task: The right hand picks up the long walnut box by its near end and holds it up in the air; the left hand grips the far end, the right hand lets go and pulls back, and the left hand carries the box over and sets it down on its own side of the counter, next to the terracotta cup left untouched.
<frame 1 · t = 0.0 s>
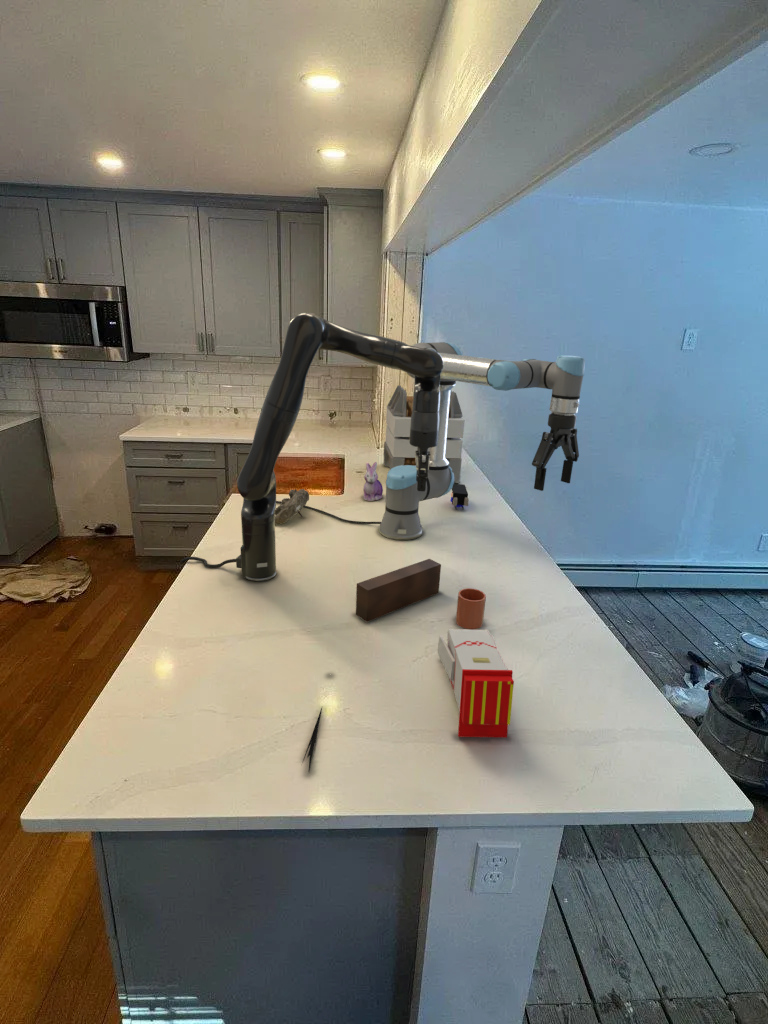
left hand: (420, 486, 155), 29 cm above the counter, fingers open, 8 cm apart
right hand: (552, 485, 166), 28 cm above the counter, fingers open, 13 cm apart
figurine character: (458, 506, 231), on the counter
fossil: (292, 516, 212), on the counter
figurine: (372, 498, 236), on the counter
feather: (319, 719, 109), on the counter
transformer: (419, 473, 275), on the counter
toy: (469, 691, 119), on the counter
terracotta cup: (469, 622, 145), on the counter
walnut box: (398, 603, 153), on the counter
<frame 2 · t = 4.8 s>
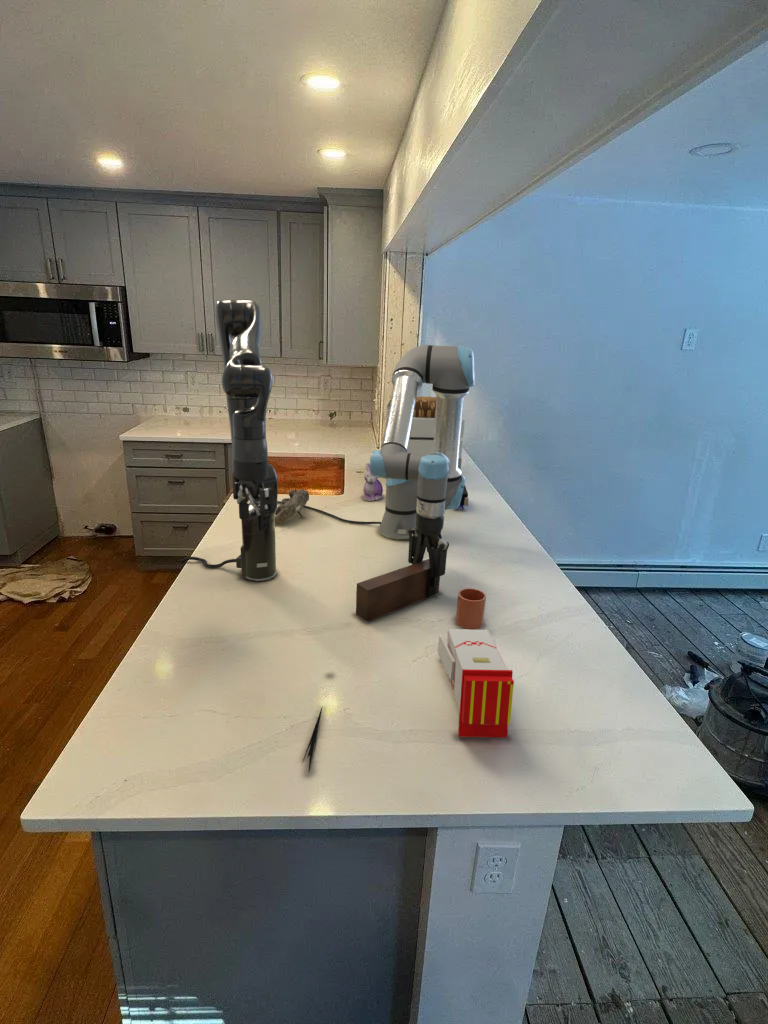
left hand: (253, 524, 132), 26 cm above the counter, fingers open, 8 cm apart
right hand: (424, 592, 159), 1 cm above the counter, fingers closed on walnut box, 5 cm apart
walnut box: (398, 603, 153), on the counter, touching right hand
everything else where it was.
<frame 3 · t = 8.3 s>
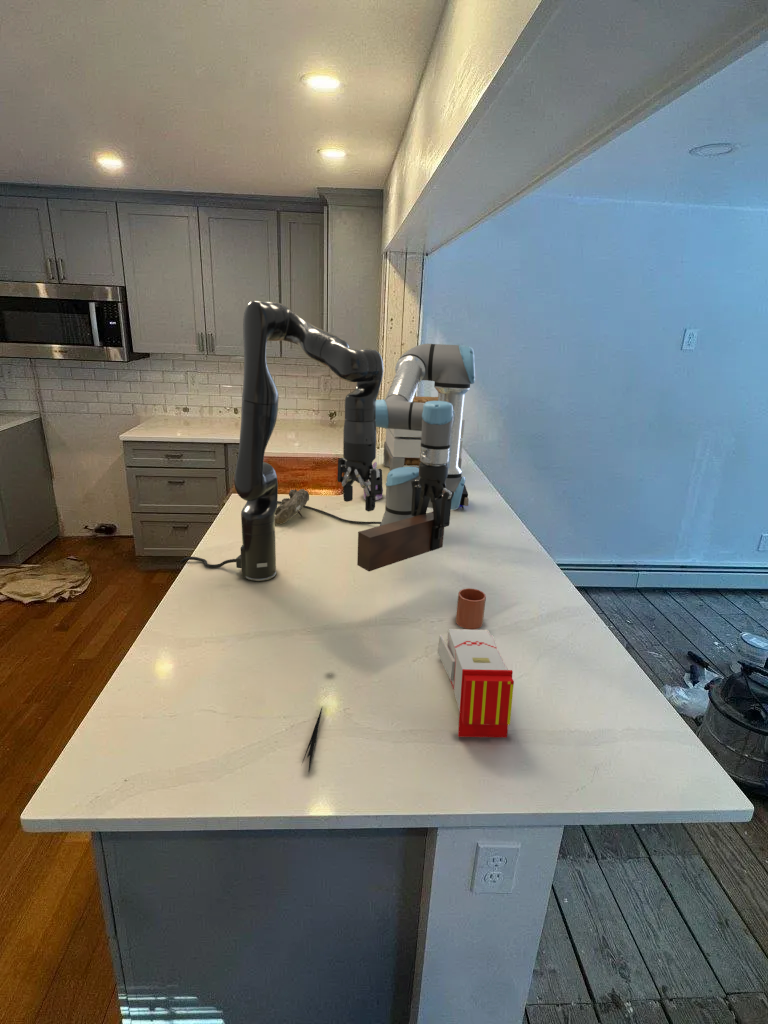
left hand: (358, 505, 136), 30 cm above the counter, fingers open, 8 cm apart
right hand: (427, 545, 154), 15 cm above the counter, fingers closed on walnut box, 5 cm apart
walnut box: (401, 555, 148), point 14 cm above the counter, touching right hand
everything else where it was.
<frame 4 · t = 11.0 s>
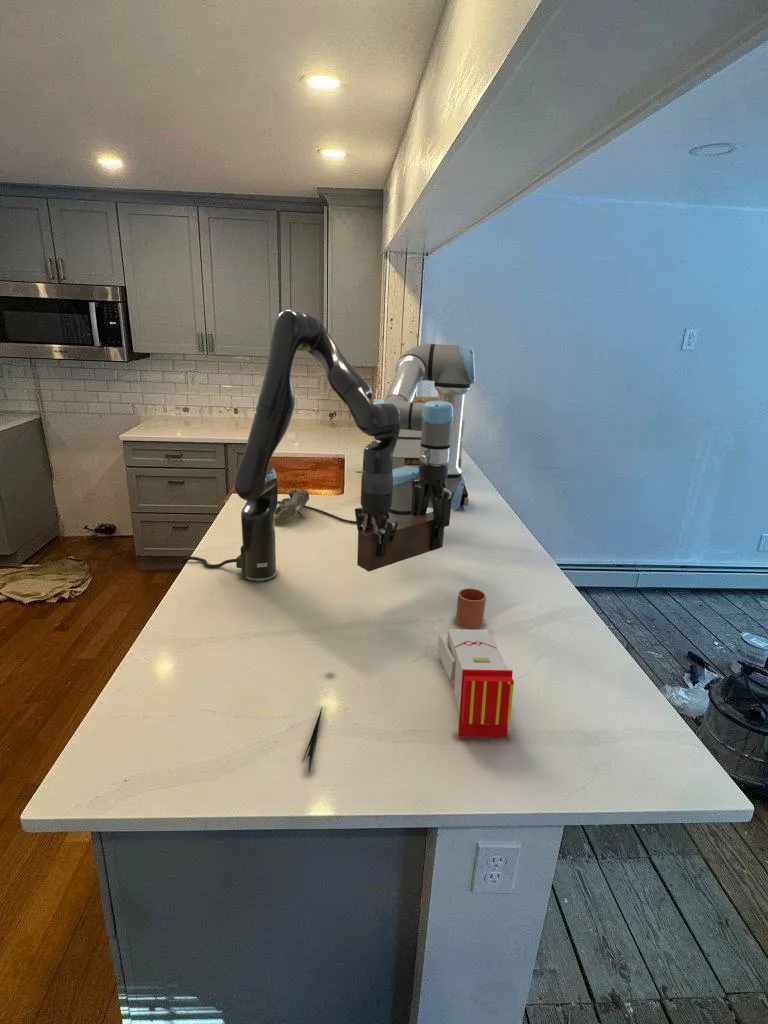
left hand: (374, 553, 141), 17 cm above the counter, fingers closed on walnut box, 4 cm apart
right hand: (427, 545, 154), 15 cm above the counter, fingers closed on walnut box, 5 cm apart
walnut box: (401, 555, 148), point 14 cm above the counter, touching right hand, left hand
everything else where it was.
when the right hand's fingers open (15 cm above the counter, at t = 11.8 s): walnut box stays where it is, held by the left hand.
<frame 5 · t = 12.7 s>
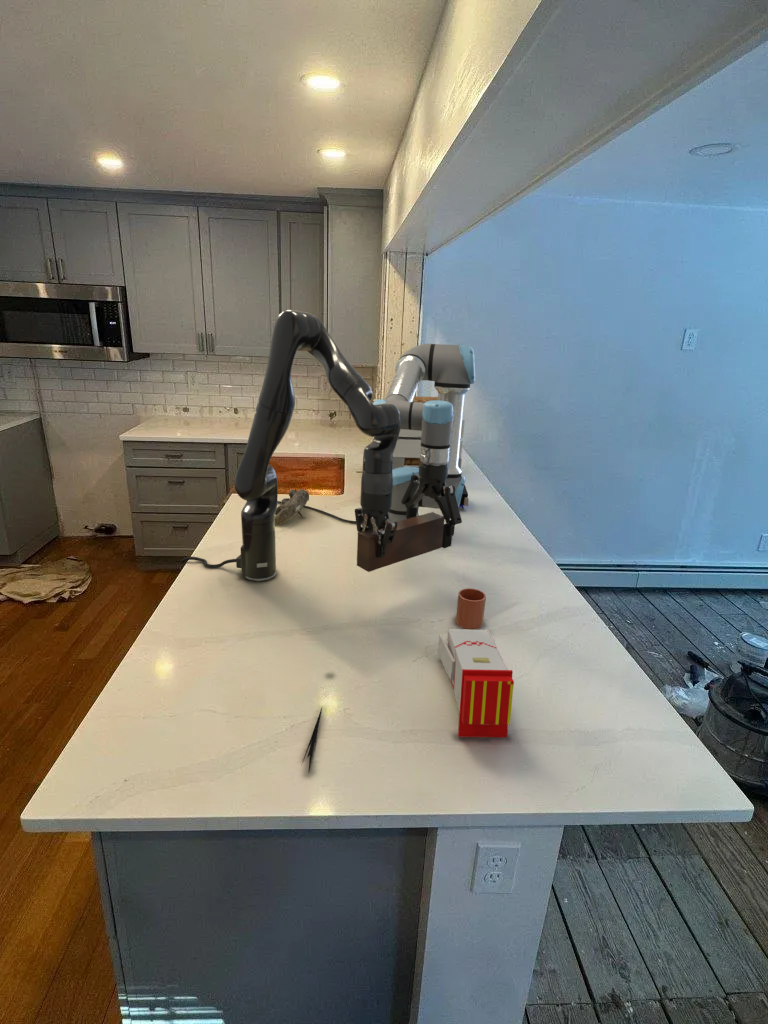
left hand: (373, 553, 141), 17 cm above the counter, fingers closed on walnut box, 4 cm apart
right hand: (428, 538, 153), 17 cm above the counter, fingers open, 13 cm apart
walnut box: (401, 556, 148), point 14 cm above the counter, touching left hand
everything else where it was.
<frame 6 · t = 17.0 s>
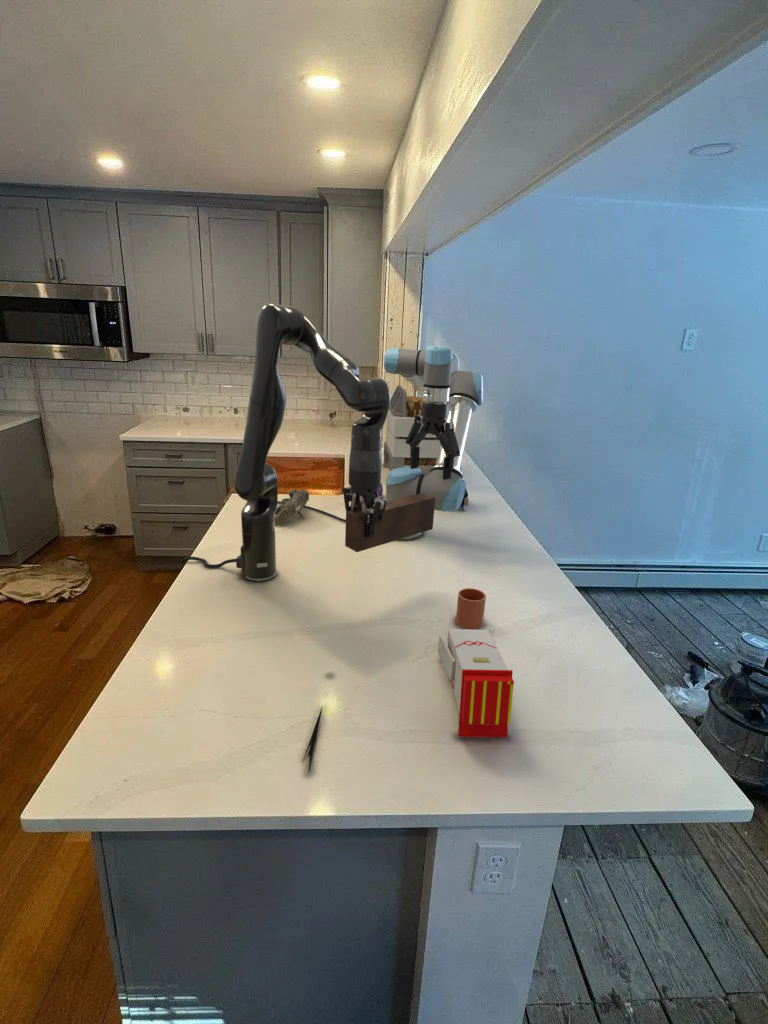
left hand: (362, 533, 138), 23 cm above the counter, fingers closed on walnut box, 4 cm apart
right hand: (430, 473, 170), 29 cm above the counter, fingers open, 13 cm apart
walnut box: (390, 537, 145), point 20 cm above the counter, touching left hand
everything else where it was.
when the left hand's fingers open (5 cm above the counter, at t = 23.3 s): walnut box drops 1 cm, on the counter.
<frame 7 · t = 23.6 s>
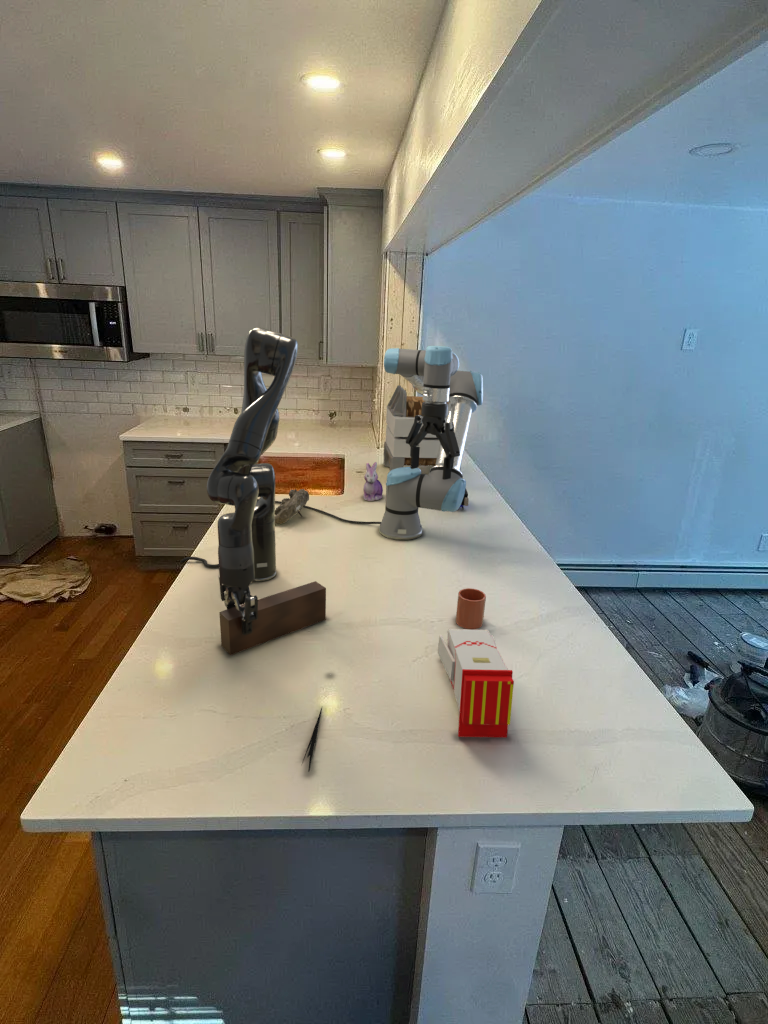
left hand: (239, 626, 129), 5 cm above the counter, fingers open, 6 cm apart
right hand: (430, 473, 170), 29 cm above the counter, fingers open, 13 cm apart
walnut box: (276, 632, 137), on the counter
everything else where it was.
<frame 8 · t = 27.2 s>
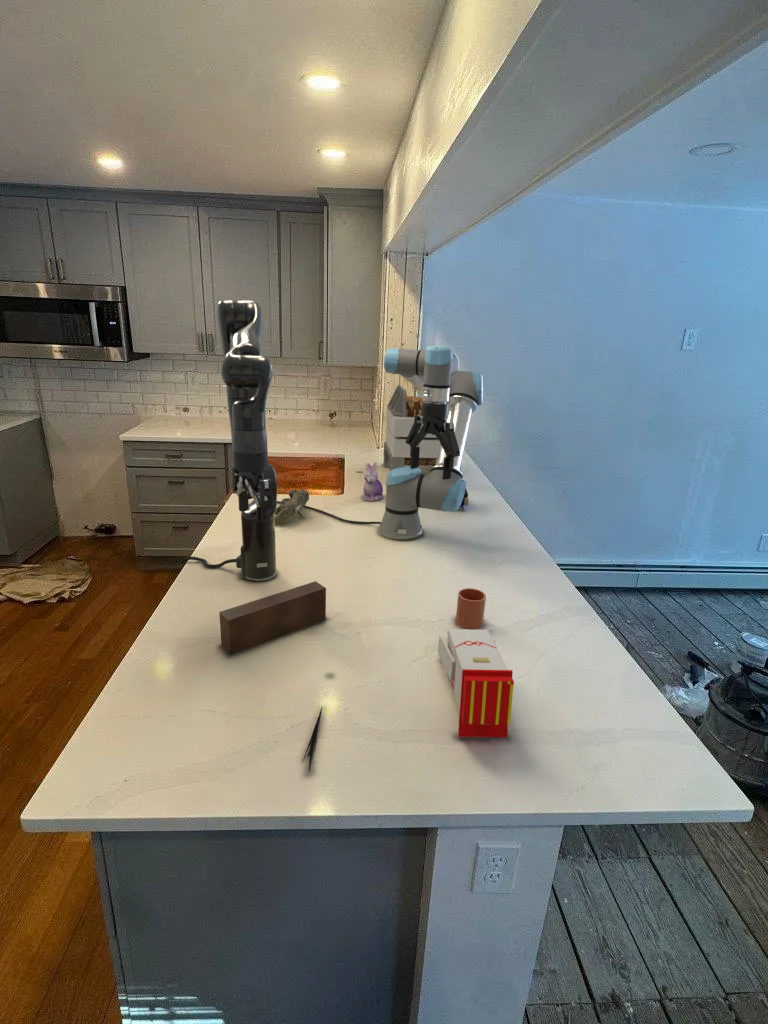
left hand: (252, 516, 131), 28 cm above the counter, fingers open, 8 cm apart
right hand: (430, 473, 170), 29 cm above the counter, fingers open, 13 cm apart
nothing on the counter moved.
at the end: walnut box inside the target area (0.1 cm from its centre), on the counter; both hands held the walnut box at the same time; the left hand is holding nothing; the right hand is holding nothing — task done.
